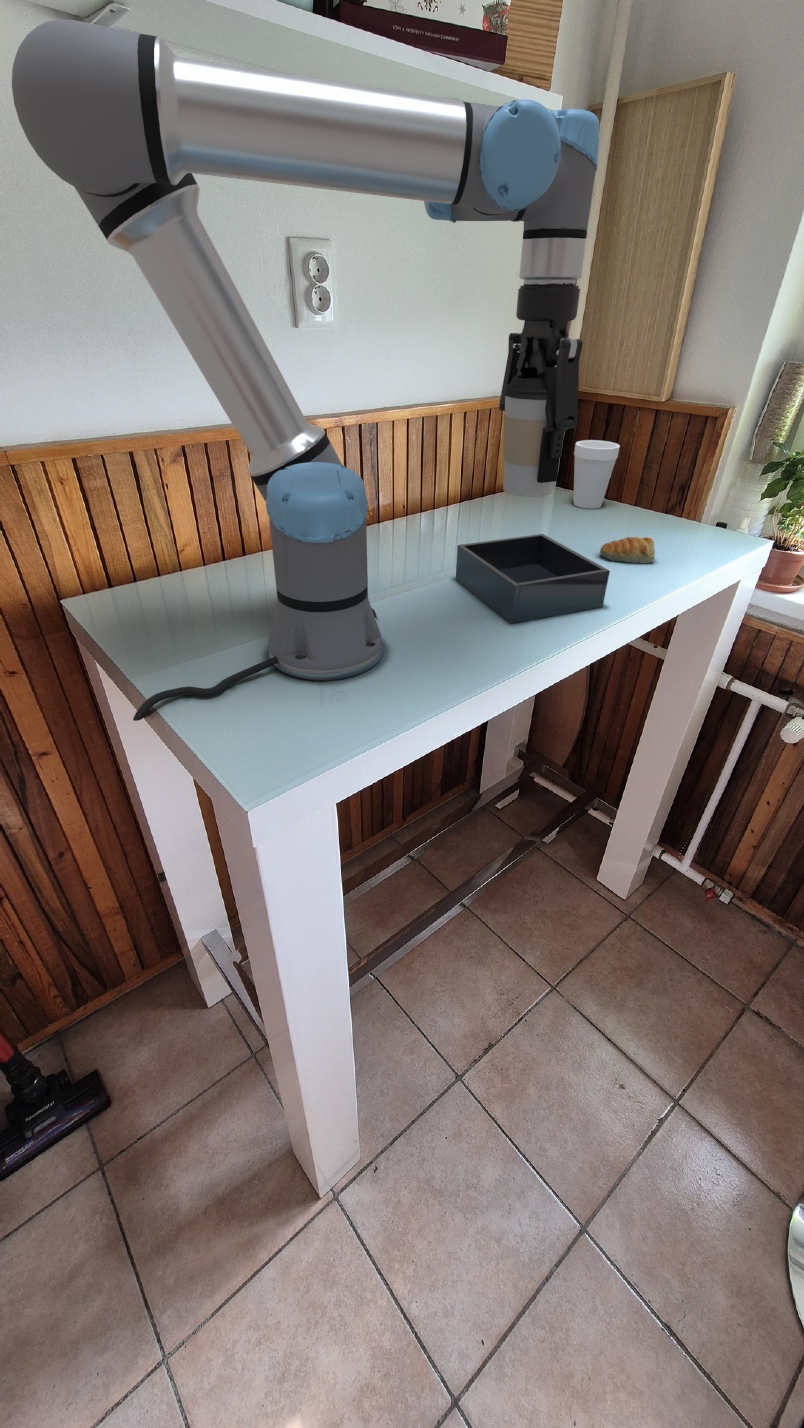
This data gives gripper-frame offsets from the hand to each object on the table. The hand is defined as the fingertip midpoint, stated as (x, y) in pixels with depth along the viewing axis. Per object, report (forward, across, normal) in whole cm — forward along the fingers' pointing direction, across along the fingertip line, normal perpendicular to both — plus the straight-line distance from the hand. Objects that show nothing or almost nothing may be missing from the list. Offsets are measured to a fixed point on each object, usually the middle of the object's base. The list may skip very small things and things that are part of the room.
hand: (529, 473), depth 92 cm
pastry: (+20, +10, -30) cm, 37 cm away
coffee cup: (+3, 0, 0) cm, 3 cm away
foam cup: (+20, +42, -43) cm, 64 cm away
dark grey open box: (+20, +2, -3) cm, 20 cm away
